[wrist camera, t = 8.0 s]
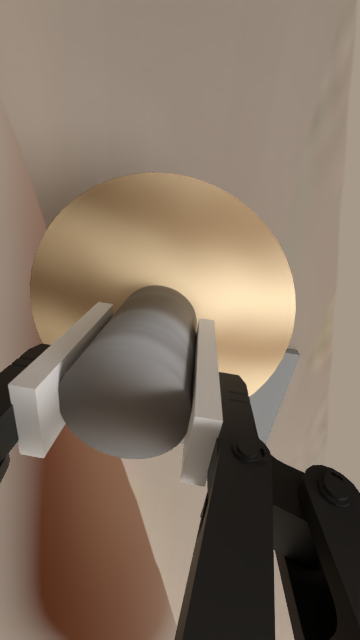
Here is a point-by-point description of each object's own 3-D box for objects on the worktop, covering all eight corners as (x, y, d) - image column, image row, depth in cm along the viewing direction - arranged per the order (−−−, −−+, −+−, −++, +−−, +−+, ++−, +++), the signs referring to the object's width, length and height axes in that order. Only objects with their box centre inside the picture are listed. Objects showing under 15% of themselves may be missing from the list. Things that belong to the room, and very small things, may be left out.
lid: (27, 153, 13) (-210, 85, 5) (331, 198, 12) (511, 189, 5) (49, 392, 19) (-48, 509, 12) (252, 426, 19) (284, 569, 11)
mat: (162, 328, 31) (161, 332, 30) (296, 350, 30) (299, 355, 29) (150, 432, 38) (148, 437, 37) (259, 450, 37) (260, 456, 36)
